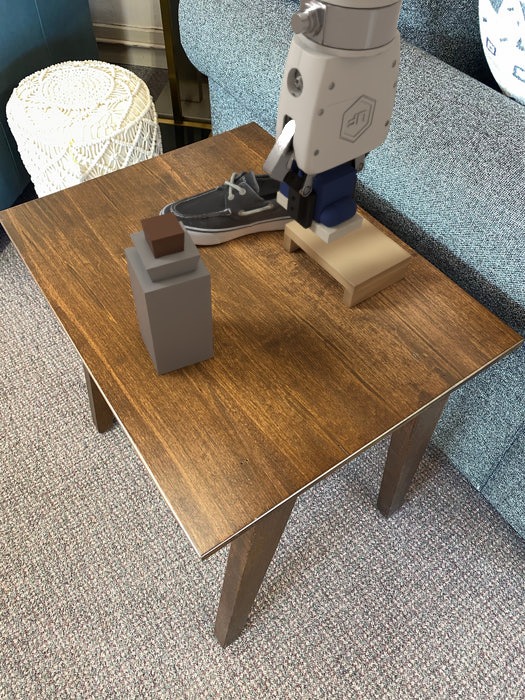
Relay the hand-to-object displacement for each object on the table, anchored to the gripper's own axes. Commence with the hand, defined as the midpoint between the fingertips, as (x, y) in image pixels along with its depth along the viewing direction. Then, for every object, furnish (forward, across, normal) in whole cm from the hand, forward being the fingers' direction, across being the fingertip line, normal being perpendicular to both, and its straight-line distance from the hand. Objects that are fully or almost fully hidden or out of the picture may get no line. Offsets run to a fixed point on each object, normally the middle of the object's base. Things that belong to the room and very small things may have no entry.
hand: (319, 209), depth 57 cm
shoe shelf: (+17, +12, +5) cm, 22 cm away
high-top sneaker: (+1, 0, 0) cm, 1 cm away
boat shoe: (+18, +5, +19) cm, 27 cm away
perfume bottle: (+18, -15, +6) cm, 24 cm away
